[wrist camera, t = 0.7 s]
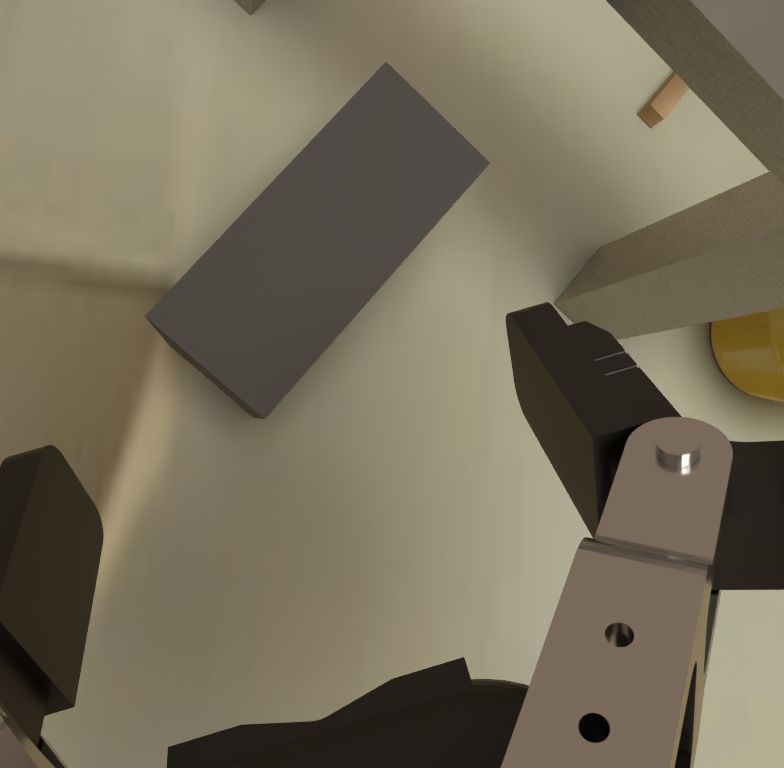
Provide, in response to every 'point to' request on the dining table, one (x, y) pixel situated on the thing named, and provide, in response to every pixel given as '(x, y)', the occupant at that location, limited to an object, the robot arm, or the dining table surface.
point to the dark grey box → (317, 243)
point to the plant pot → (752, 352)
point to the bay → (663, 100)
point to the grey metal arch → (717, 214)
